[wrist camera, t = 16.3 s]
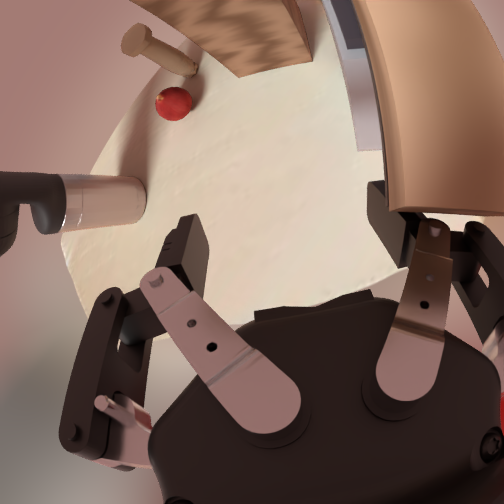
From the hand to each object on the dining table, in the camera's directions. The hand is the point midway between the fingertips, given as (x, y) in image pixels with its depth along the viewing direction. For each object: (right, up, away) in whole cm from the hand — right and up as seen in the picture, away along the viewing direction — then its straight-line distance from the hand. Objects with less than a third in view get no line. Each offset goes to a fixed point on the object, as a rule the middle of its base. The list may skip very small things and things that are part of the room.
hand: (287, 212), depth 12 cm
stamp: (+5, +11, -5) cm, 13 cm away
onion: (-13, +23, +29) cm, 39 cm away
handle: (-12, +30, +27) cm, 43 cm away
